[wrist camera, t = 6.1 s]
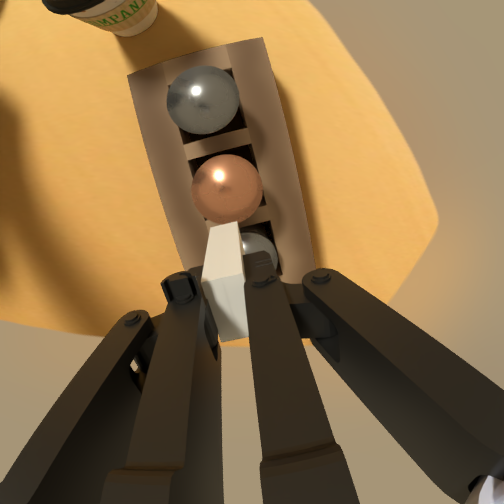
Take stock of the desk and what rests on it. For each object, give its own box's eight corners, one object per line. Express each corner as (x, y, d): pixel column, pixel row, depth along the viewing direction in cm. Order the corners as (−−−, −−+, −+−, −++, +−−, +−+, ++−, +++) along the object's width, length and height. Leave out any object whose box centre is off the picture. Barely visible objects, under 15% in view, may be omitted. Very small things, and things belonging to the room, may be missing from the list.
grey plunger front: (188, 142, 28) (176, 142, 21) (174, 90, 26) (159, 77, 19) (243, 127, 28) (247, 123, 21) (230, 75, 26) (229, 57, 19)
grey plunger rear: (228, 265, 36) (227, 293, 30) (214, 222, 34) (211, 242, 28) (273, 254, 36) (282, 279, 30) (263, 209, 34) (270, 226, 27)
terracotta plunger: (208, 212, 31) (202, 232, 24) (193, 160, 28) (182, 165, 22) (261, 198, 30) (269, 214, 24) (248, 145, 28) (253, 146, 22)
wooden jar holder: (205, 289, 38) (202, 315, 32) (144, 85, 28) (127, 75, 23) (306, 264, 37) (318, 287, 32) (257, 53, 28) (262, 37, 22)
